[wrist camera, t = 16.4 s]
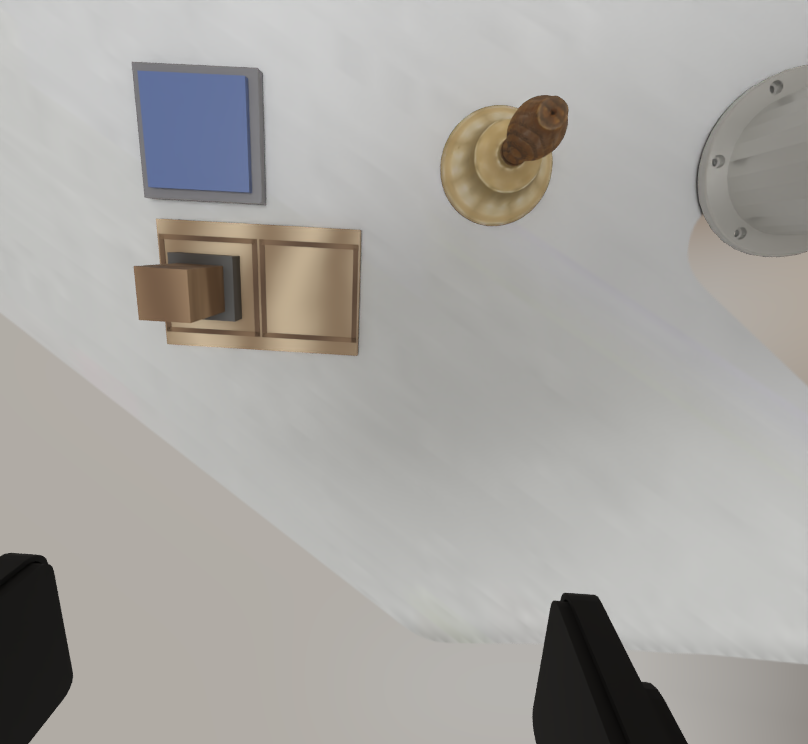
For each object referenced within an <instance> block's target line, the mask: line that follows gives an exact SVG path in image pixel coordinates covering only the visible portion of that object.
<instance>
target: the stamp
mask: <svg viewBox="0 0 808 744" xmlns="http://www.w3.org/2000/svg"><path fill="white" fill-rule="evenodd" d="M167 256H168V264H158V265H145V266H134V275H135V285H136V295H137V305H138V314H139V320H149V321H164V322H179V323H193V322H196V321H199V320H217V321H232V322H235V321H238V320H240V319H242V302H241V275H240V256H232V255H216V254H200V253H185V252H167Z"/></svg>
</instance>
